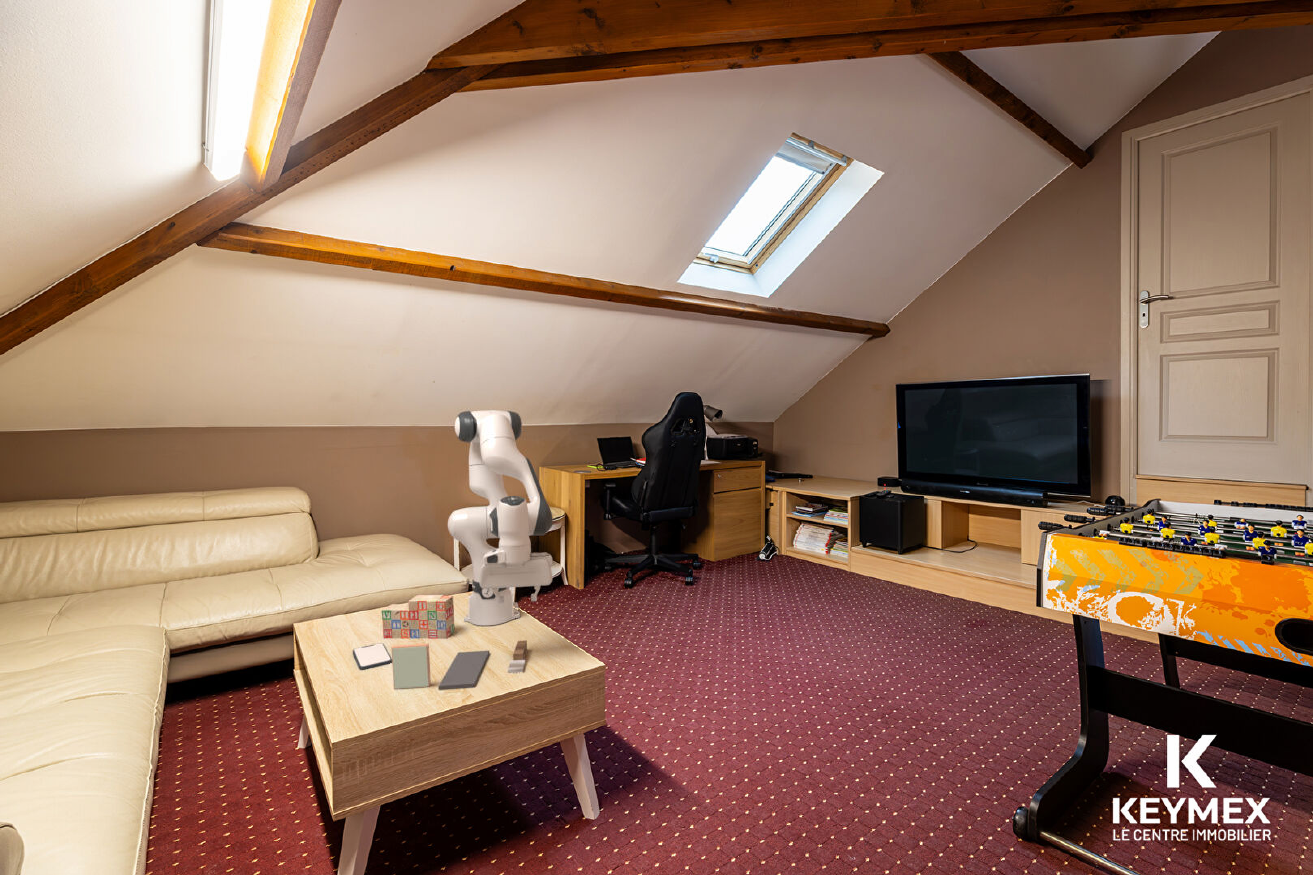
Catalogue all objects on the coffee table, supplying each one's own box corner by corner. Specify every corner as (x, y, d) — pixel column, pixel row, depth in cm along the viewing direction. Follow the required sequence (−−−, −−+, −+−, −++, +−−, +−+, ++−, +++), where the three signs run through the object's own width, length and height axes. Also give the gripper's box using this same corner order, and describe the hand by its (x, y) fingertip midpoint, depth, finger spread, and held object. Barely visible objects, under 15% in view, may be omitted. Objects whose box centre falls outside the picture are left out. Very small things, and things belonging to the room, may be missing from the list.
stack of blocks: (382, 638, 199) (380, 600, 198) (392, 631, 205) (390, 594, 204) (447, 639, 196) (445, 600, 196) (455, 631, 203) (453, 594, 202)
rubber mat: (458, 655, 182) (458, 652, 182) (489, 653, 183) (489, 650, 183) (438, 689, 160) (438, 685, 160) (474, 687, 161) (474, 683, 161)
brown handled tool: (515, 650, 185) (515, 641, 184) (529, 650, 185) (529, 640, 185) (507, 673, 169) (507, 663, 169) (522, 672, 169) (522, 662, 169)
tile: (395, 686, 163) (393, 645, 162) (430, 684, 164) (428, 643, 163) (393, 689, 161) (391, 647, 161) (429, 686, 162) (427, 645, 162)
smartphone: (393, 665, 179) (383, 646, 192) (393, 659, 179) (383, 641, 192) (359, 673, 174) (351, 654, 187) (359, 667, 174) (351, 648, 187)
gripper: (552, 549, 181) (554, 596, 182) (481, 553, 179) (483, 600, 180) (551, 554, 175) (553, 602, 176) (477, 558, 173) (479, 607, 174)
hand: (517, 601), depth 178 cm, fingers open, 8 cm apart
